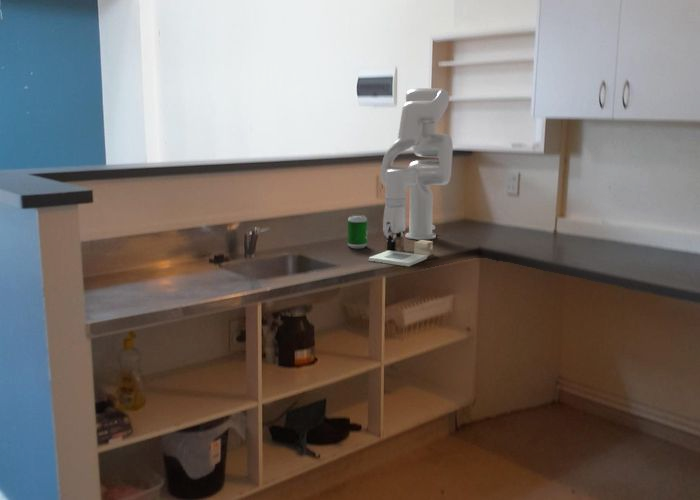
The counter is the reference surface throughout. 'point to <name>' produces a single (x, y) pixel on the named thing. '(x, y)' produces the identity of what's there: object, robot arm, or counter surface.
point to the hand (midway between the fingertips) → (394, 249)
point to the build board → (398, 258)
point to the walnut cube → (398, 244)
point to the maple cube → (423, 247)
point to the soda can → (357, 231)
